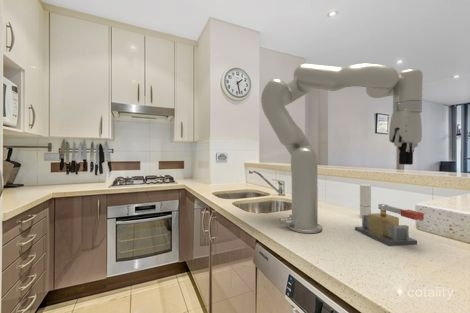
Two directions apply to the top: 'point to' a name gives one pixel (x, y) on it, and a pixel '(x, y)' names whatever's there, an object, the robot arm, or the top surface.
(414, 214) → the valve lever
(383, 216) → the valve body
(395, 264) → the top surface
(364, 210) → the tube
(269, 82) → the robot arm
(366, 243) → the top surface
